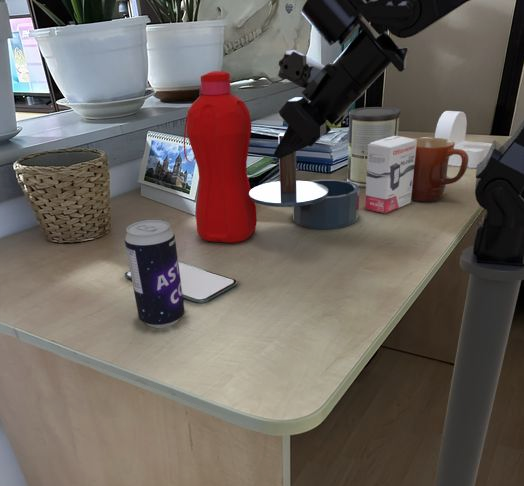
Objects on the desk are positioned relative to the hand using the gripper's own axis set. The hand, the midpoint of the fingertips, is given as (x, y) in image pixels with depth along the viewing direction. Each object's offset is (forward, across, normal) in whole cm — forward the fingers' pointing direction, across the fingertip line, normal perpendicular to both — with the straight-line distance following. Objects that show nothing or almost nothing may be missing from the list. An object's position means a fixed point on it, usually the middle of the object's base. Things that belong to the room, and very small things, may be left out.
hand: (279, 154), depth 83 cm
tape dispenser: (-6, -60, +26) cm, 65 cm away
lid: (+3, 0, +5) cm, 6 cm away
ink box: (0, -21, +20) cm, 29 cm away
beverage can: (+14, +31, +6) cm, 34 cm away
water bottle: (+17, +1, +2) cm, 17 cm away
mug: (-6, -27, +25) cm, 37 cm away
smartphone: (+16, +20, +3) cm, 26 cm away
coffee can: (+4, -38, +15) cm, 41 cm away
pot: (+6, -11, +13) cm, 18 cm away
